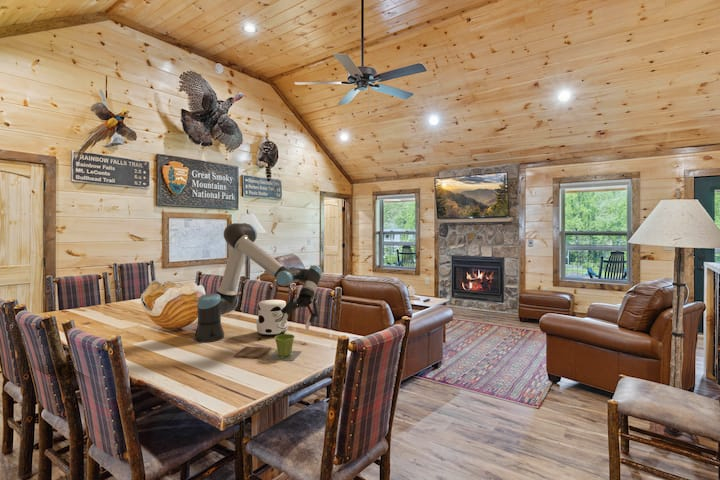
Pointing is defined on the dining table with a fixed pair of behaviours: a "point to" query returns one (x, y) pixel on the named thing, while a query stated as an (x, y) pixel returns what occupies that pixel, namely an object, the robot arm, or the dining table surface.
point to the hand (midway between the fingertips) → (294, 326)
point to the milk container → (271, 317)
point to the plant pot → (284, 344)
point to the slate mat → (288, 358)
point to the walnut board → (252, 352)
